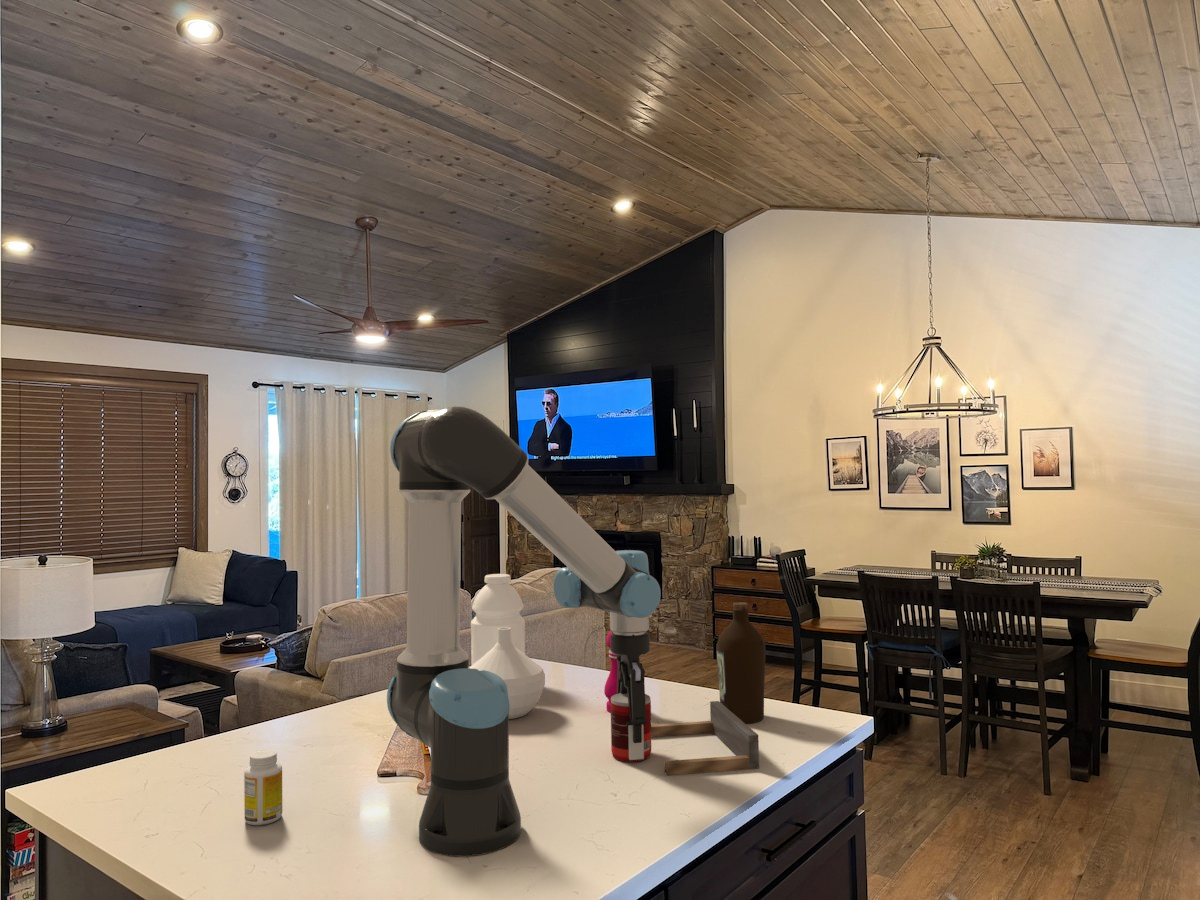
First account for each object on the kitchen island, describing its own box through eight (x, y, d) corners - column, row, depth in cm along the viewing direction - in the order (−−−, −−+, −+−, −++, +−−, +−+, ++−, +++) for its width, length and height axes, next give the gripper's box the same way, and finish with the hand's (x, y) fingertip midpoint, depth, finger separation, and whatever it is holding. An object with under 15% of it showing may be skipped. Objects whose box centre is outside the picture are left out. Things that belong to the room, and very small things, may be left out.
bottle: (476, 694, 204) (475, 579, 205) (466, 680, 217) (465, 573, 218) (531, 688, 209) (530, 576, 209) (518, 676, 222) (518, 570, 223)
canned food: (652, 748, 162) (651, 692, 163) (650, 763, 154) (649, 703, 155) (613, 747, 163) (612, 691, 163) (609, 762, 155) (608, 702, 155)
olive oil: (765, 711, 187) (763, 599, 188) (768, 725, 177) (766, 607, 177) (717, 709, 188) (715, 599, 189) (717, 724, 178) (716, 606, 179)
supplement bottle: (286, 811, 134) (286, 747, 134) (276, 825, 128) (276, 759, 129) (250, 813, 133) (250, 748, 134) (239, 827, 128) (239, 760, 128)
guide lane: (666, 775, 148) (666, 741, 148) (638, 735, 171) (637, 705, 171) (758, 768, 151) (758, 734, 151) (718, 729, 174) (718, 701, 174)
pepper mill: (600, 713, 187) (599, 624, 187) (609, 704, 193) (608, 618, 194) (631, 715, 184) (630, 625, 185) (639, 707, 191) (638, 619, 192)
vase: (552, 703, 195) (552, 621, 196) (535, 727, 177) (534, 637, 177) (477, 701, 198) (476, 620, 198) (452, 724, 180) (452, 635, 180)
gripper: (662, 641, 150) (664, 768, 149) (637, 621, 170) (638, 733, 170) (621, 643, 149) (623, 771, 148) (601, 622, 169) (602, 735, 168)
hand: (631, 751), depth 159 cm, fingers closed on canned food, 8 cm apart
